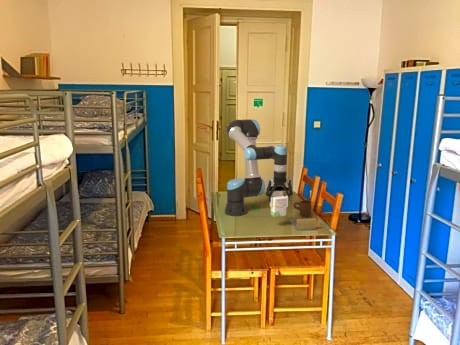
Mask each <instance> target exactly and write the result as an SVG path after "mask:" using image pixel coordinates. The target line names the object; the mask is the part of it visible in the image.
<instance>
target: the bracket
mask: <svg viewBox="0 0 460 345" xmlns="http://www.w3.org/2000/svg"><path fill="white" fill-rule="evenodd" d="M288 222H289V223H290V225H291V226H292V227H293V228H294V229H295V230H296V231H310V230H311V231H312V230H313V231H314V230H315V231H316V230H317V218H316V217H315V218H311V217H310V218H307V217H305V218H296V219H290V218H288Z"/></svg>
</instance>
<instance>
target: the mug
mask: <svg viewBox="0 0 460 345" xmlns="http://www.w3.org/2000/svg"><path fill="white" fill-rule="evenodd" d="M296 205H298V206H296ZM292 206H293V208H294V209H296V210H298V211H299V215H300V216H301V217H305V218H307V217H311V216H312V202H311V201H310V200H301V201H300V202H298V201H295V202H294V203H293V205H292Z"/></svg>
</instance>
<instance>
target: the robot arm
mask: <svg viewBox="0 0 460 345" xmlns="http://www.w3.org/2000/svg"><path fill="white" fill-rule="evenodd" d="M260 133H261V126H260V124H259V122H258V121H257V119H251V118H250V119H235V120H231V121H230V122H229V123H228V125H227V127H226V134H227V136H228V137H229V138H230V139H231V140H233V141H234V142H235V143H236V144H237V145H238V146H239V147H240V148H241V149H242V151H243V156H244V163H245V173H246V174H245V176H244V178H233V179H230V180H228V182H227V183H226V184H227V186H226V205H225V208H224V214H225V215H227V216H232V217H233V216H234V217H238V216H239V217H240V216H245V215H246V214H247V207H246V204H245V198H250V197H251V198H252V197H260V196H262V195H263V194H265V196H267V197H268V202H269V207H270V208H271V207H272V194H273V192H275V190H276V188H277V187H283V190H284V192H285V194H286V195H285V197H287V207H286V208H288V206H289V202H290V201H291V199H290V198H291V196H293V195H294V193H293V192H294V191H293V188H292V180H291V179H290V178H287V167H288V166H287V164H288V147H287V145H283V144H282V145H281V144H279V145H275V146H274V145H266V146H260V147H257V143H256V142H257V139H258V136H259V135H260ZM258 160H259V161H260V160H273V161H274V162H273V170H274V171H273V179H268V185H267V188H266V183H265V180H264V179H263V178H262V176H261V174H259V165H258ZM286 183H287V186H288V188H287V186H286ZM272 184H273V185H272ZM271 187H272V188H271ZM265 189H266V192H265ZM264 192H265V193H264Z"/></svg>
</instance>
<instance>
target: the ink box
mask: <svg viewBox="0 0 460 345" xmlns="http://www.w3.org/2000/svg"><path fill="white" fill-rule="evenodd" d="M287 208H288V207H287V197H286V195H285V196H284V191H283V190H280V191H279V190H278V191H274V192H273V194H272V207H270V215H271V216H272V217H274V218H277V217H284V216H287Z"/></svg>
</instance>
